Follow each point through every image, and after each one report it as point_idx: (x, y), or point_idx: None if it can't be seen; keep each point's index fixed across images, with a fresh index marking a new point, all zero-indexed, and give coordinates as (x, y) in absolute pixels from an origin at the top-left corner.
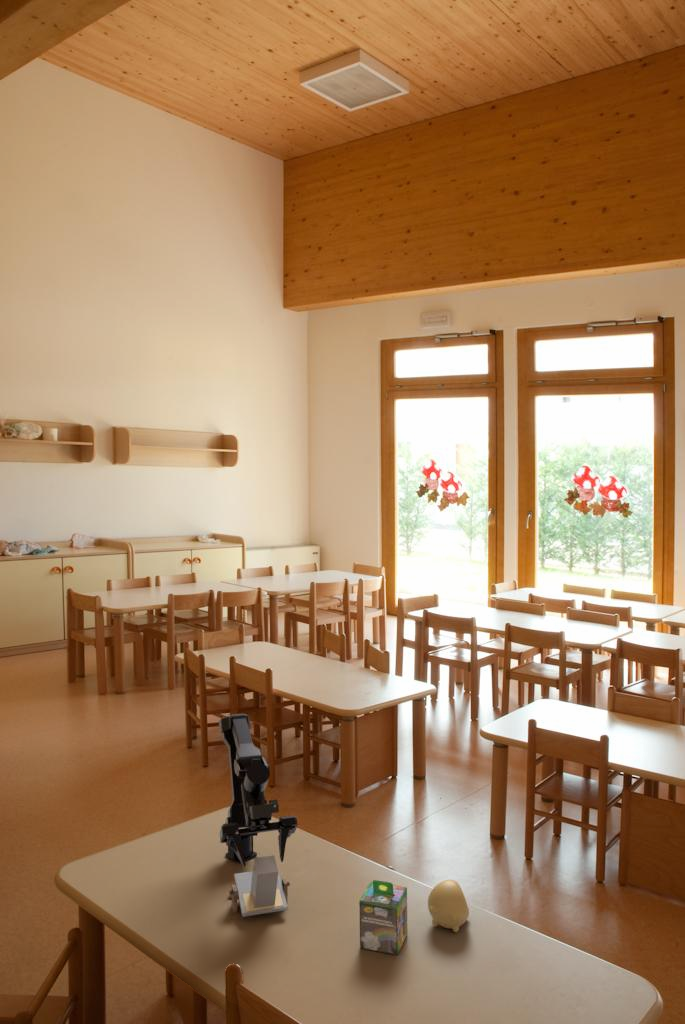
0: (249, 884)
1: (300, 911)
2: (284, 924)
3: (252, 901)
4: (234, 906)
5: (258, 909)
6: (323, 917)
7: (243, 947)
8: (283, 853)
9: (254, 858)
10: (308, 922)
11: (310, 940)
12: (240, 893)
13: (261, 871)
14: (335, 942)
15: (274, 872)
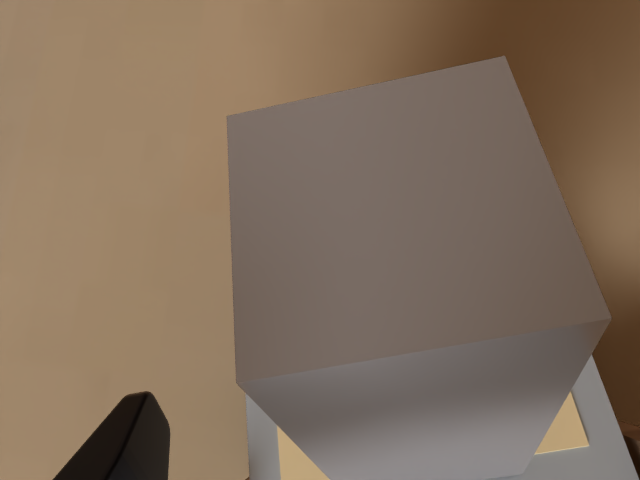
0: None
1: (177, 384)
2: None
3: None
4: (626, 424)
5: None
6: (58, 301)
7: (524, 47)
8: (77, 459)
9: (592, 311)
10: (147, 258)
11: (160, 90)
12: (611, 456)
13: (450, 100)
14: (42, 66)
15: (276, 111)
